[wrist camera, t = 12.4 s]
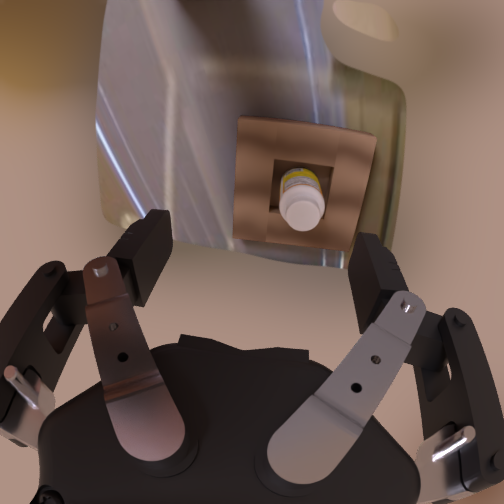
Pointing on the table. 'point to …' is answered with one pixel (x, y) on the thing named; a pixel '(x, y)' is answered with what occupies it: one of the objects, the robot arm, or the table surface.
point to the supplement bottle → (301, 198)
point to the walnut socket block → (305, 155)
